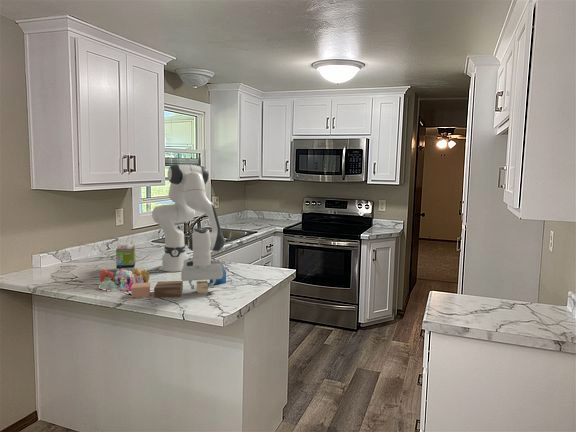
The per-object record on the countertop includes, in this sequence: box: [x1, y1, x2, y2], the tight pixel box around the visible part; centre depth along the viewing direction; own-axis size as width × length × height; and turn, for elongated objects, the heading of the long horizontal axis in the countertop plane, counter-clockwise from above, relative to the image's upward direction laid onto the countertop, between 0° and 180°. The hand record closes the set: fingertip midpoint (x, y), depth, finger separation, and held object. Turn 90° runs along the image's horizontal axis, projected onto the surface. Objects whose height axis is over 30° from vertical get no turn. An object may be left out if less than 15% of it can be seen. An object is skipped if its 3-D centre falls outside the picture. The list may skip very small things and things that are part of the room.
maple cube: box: [196, 280, 209, 294], centre depth 220 cm, size 5×5×5 cm
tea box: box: [115, 244, 136, 274], centre depth 261 cm, size 15×10×15 cm, turn 16°
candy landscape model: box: [99, 267, 151, 292], centre depth 230 cm, size 25×24×9 cm
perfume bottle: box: [209, 259, 227, 286], centre depth 237 cm, size 6×6×12 cm
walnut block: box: [153, 280, 184, 299], centre depth 217 cm, size 12×12×5 cm
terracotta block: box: [131, 282, 151, 298], centre depth 214 cm, size 8×8×5 cm
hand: (202, 288), depth 221 cm, fingers open, 8 cm apart
